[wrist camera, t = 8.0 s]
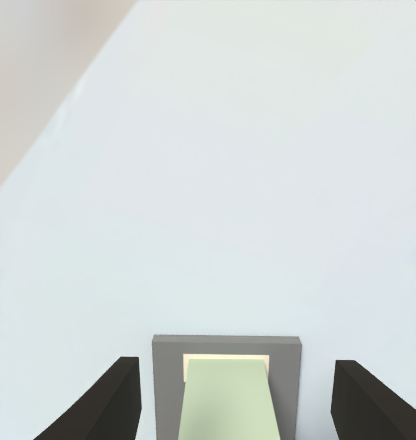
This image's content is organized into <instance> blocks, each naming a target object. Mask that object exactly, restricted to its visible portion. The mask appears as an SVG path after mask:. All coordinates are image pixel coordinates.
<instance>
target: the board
mask: <svg viewBox="0 0 416 440" xmlns="http://www.w3.org/2000/svg"><path fill="white" fill-rule="evenodd" d="M152 354H153V375H154V395H155V416H156V436H157V440H178V437H179V429H180V422H181V414H182V407H183V399H184V392H185V384H186V377H187V369H188V362H189V359H263V362H264V367H265V371H266V376H267V381H268V385H269V390H270V394H271V399H272V404H273V408H274V413H275V417H276V422H277V426H278V431H279V436H280V440H295V427H296V413H297V399H298V385H299V371H300V357H301V342H300V339H299V337H279V336H206V335H154V337H153V340H152Z"/></svg>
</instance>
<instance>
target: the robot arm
mask: <svg viewBox="0 0 416 440" xmlns="http://www.w3.org/2000/svg"><path fill="white" fill-rule="evenodd" d="M141 409H142V405H141V389H140V372H139V357H120V358H119V359H118V360H117V361H116V362H115V363H114V364H113V365H112V366H111V367H110V368H109V369H108V370H107V371H106V372H105V373H104V374H103V375H102V376H101V377H100V378H99V379H98V380H97V381H96V382H95V384H94V385H93V386H92V387H91V388H90V389H89V390H87V391H86V392H85V393H84V394H83V395H82V396H81V397H80V398H79V399H78V400H77V401H76V402H75V403H74V404H73V405H72V406H71V407H70V408H69V409H68V410H67V411H66V412H64V413H63V414H62V415H61V416H60V417H59V418H58V419H57V420H56V421H55V422H53V423H52V424H51V425H50V426H49V427H48V428H47V429H45V430H44V431H43V432H42V433H41V434H40V435H38V436H37V437H36V438H35V439H33V440H135V437H136V433H137V428H138V424H139V419H140V414H141ZM331 415H332V418H333V421H334V425H335V428H336V431H337V434H338V437H339V440H416V409H414V408H413V407H412V406H410V405H409V404H408V403H407V402H405V401H404V400H403V399H402V398H400V397H399V396H398V395H397V394H395V393H394V392H393V391H392V390H391V389H389V388H388V387H387V386H386V385H385V384H383V383H382V382H381V381H380V380H378V379H377V378H376V377H375V376H374V375H372V374H371V373H370V372H369V371H368V370H366V369H365V368H364V367H363V366H361V365H360V364H359V363H357V362H356V361H355V360H336V364H335V374H334V384H333V394H332V404H331Z"/></svg>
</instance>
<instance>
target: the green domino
mask: <svg viewBox="0 0 416 440" xmlns="http://www.w3.org/2000/svg"><path fill="white" fill-rule="evenodd" d="M178 440H280V436H279V431H278V426H277V422H276V417H275V413H274V408H273V404H272V399H271V394H270V390H269V385H268V381H267V376H266V371H265V367H264V362H263V359H189V362H188V369H187V377H186V384H185V392H184V399H183V407H182V414H181V422H180V429H179V437H178Z"/></svg>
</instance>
